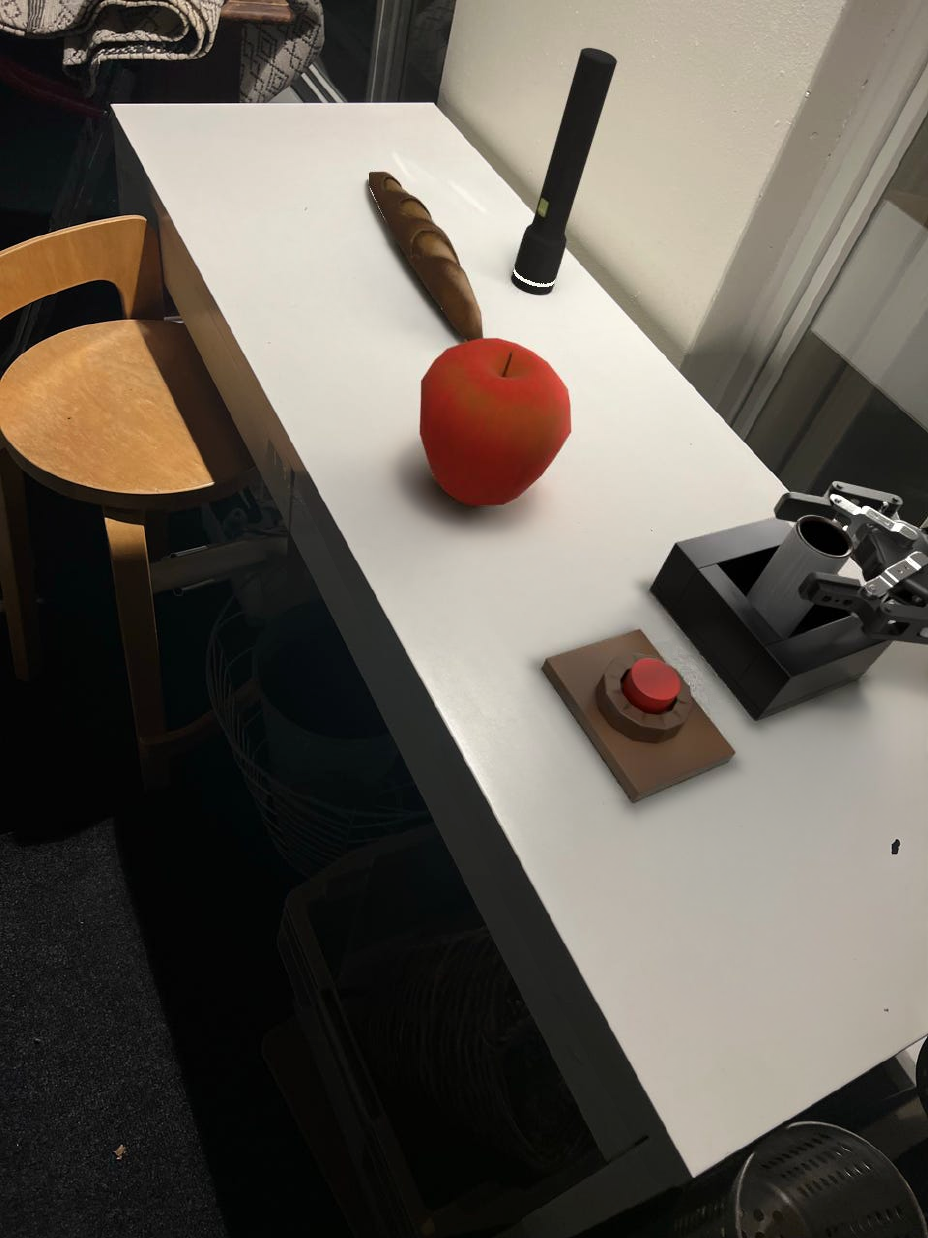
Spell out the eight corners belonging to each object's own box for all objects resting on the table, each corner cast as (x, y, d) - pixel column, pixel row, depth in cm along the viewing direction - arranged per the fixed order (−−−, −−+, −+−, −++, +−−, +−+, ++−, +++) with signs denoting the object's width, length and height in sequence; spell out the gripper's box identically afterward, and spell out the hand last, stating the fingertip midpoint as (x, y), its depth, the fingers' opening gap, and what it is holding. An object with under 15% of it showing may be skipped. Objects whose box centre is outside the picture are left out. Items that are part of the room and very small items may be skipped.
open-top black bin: (859, 678, 73) (898, 636, 69) (755, 721, 68) (790, 677, 64) (751, 559, 80) (780, 514, 76) (649, 589, 75) (674, 542, 71)
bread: (502, 360, 93) (514, 316, 89) (458, 361, 91) (469, 317, 87) (386, 180, 114) (392, 139, 110) (348, 178, 112) (353, 137, 108)
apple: (566, 509, 79) (621, 374, 69) (467, 558, 73) (513, 417, 62) (473, 428, 84) (512, 291, 74) (373, 467, 77) (400, 322, 67)
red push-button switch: (729, 761, 65) (747, 738, 63) (632, 802, 61) (649, 779, 59) (634, 637, 71) (648, 613, 69) (541, 667, 67) (552, 642, 65)
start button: (680, 705, 64) (690, 691, 63) (641, 720, 62) (651, 706, 61) (651, 667, 66) (660, 652, 64) (612, 680, 64) (621, 665, 63)
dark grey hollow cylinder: (733, 598, 75) (793, 507, 67) (784, 613, 75) (850, 524, 68) (735, 638, 72) (799, 548, 64) (789, 653, 72) (858, 565, 65)
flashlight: (534, 268, 107) (502, 274, 105) (600, 43, 90) (564, 43, 87) (561, 291, 105) (529, 297, 102) (634, 64, 87) (598, 65, 85)
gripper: (984, 482, 71) (793, 443, 68) (1060, 617, 61) (842, 577, 59) (927, 549, 76) (749, 515, 74) (989, 683, 67) (787, 649, 64)
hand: (791, 543), depth 66 cm, fingers open, 8 cm apart
